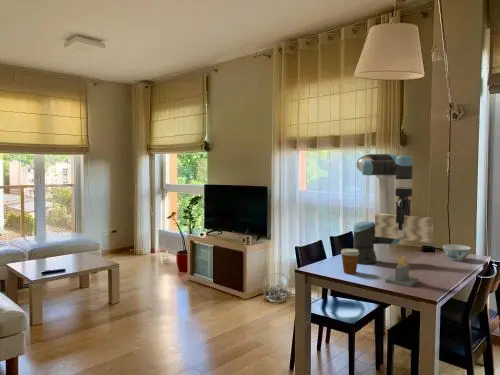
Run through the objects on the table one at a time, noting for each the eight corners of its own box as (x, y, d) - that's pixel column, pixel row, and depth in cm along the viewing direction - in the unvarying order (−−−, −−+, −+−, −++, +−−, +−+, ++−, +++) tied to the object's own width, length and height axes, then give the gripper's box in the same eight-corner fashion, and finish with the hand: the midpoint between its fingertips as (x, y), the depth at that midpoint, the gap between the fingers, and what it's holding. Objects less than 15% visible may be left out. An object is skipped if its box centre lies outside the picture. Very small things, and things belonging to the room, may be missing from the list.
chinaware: (457, 256, 244) (457, 243, 243) (476, 261, 229) (477, 248, 229) (436, 257, 240) (437, 245, 240) (455, 263, 225) (456, 250, 225)
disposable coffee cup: (337, 272, 206) (337, 250, 206) (346, 269, 213) (346, 247, 212) (353, 276, 200) (353, 252, 199) (362, 272, 206) (362, 250, 206)
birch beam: (374, 236, 195) (375, 214, 194) (378, 235, 199) (379, 213, 198) (429, 242, 178) (430, 218, 178) (433, 241, 182) (433, 217, 181)
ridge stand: (385, 282, 189) (385, 257, 188) (394, 276, 198) (394, 253, 197) (410, 287, 181) (411, 261, 181) (418, 281, 190) (419, 256, 190)
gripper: (405, 189, 178) (404, 239, 179) (417, 187, 192) (417, 234, 193) (388, 188, 183) (388, 237, 184) (402, 187, 197) (401, 232, 198)
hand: (402, 235), depth 188 cm, fingers closed on birch beam, 5 cm apart
